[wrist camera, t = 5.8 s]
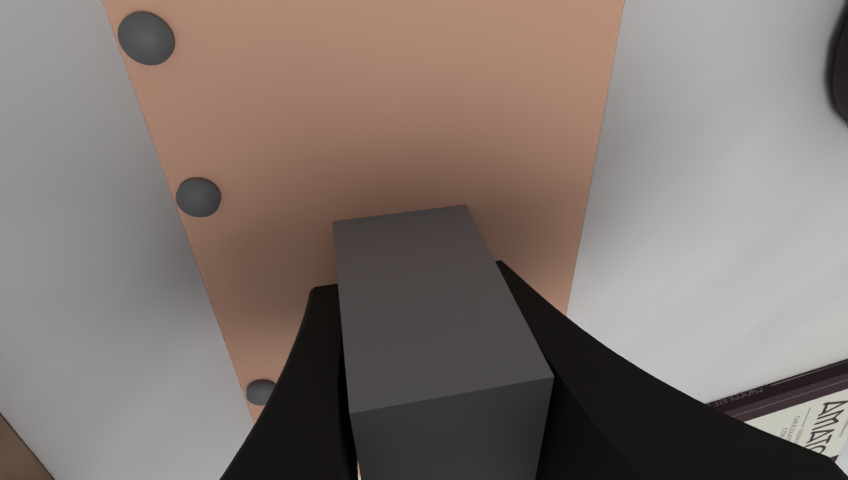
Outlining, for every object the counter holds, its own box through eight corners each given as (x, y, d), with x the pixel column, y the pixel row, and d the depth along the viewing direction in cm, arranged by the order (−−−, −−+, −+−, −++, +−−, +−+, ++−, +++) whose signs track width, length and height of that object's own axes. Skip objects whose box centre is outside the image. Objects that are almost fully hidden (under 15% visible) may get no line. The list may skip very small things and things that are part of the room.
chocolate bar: (479, 490, 21) (888, 359, 21) (473, 469, 21) (868, 343, 22) (506, 573, 26) (832, 467, 27) (500, 553, 27) (817, 451, 27)
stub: (527, 404, 19) (613, 603, 14) (280, 450, 18) (271, 689, 12) (605, -125, 10) (964, -140, 4) (97, -110, 8) (-248, -104, 3)
